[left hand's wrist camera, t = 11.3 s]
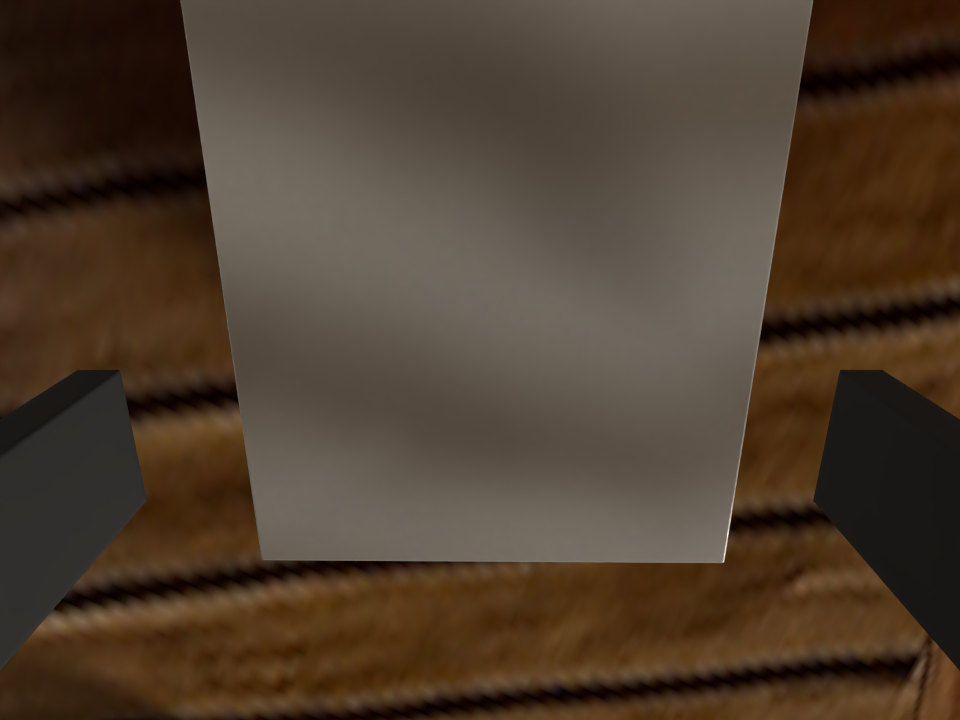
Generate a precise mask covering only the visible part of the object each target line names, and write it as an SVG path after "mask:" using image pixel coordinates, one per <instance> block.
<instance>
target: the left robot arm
mask: <svg viewBox="0 0 960 720" xmlns="http://www.w3.org/2000/svg"><path fill="white" fill-rule="evenodd" d="M146 501H147V500H146V495H145V490H144V485H143V480H142V476H141V471H140V466H139V461H138V456H137V451H136V446H135V441H134V437H133V432H132V427H131V422H130V417H129V412H128V407H127V403H126V398H125V393H124V388H123V383H122V378H121V373H120V370H77V371H76V372H74V373H72V374H71V375H69V376H68V377H66V378H65V379H63V380H61V381H60V382H58V383H57V384H55V385H54V386H52V387H51V388H49V389H47V390H46V391H44V392H43V393H41V394H40V395H38V396H36V397H35V398H33V399H32V400H30V401H29V402H27V403H25V404H24V405H22V406H21V407H19V408H18V409H16V410H14V411H13V412H11V413H10V414H8V415H7V416H5V417H4V418H2V419H0V670H1V669H2V668H3V667H4V666H5V664H6V663H7V662H8V661H9V660H10V659H11V657H12V656H13V655H14V654H15V653H16V652H17V650H18V649H19V648H20V647H21V646H22V645H23V644H24V642H25V641H26V640H27V639H28V638H29V637H30V635H31V634H32V633H33V632H34V631H35V630H36V628H37V627H38V626H39V625H40V624H41V623H42V621H43V620H44V619H45V618H46V617H47V616H48V614H49V613H50V612H51V611H52V610H53V609H54V608H55V606H56V605H57V604H58V603H59V602H60V601H61V599H62V598H63V597H64V596H65V595H66V594H67V592H68V591H69V590H70V589H71V588H72V587H73V585H74V584H75V583H76V582H77V581H78V580H79V578H80V577H81V576H82V575H83V574H84V573H85V572H86V570H87V569H88V568H89V567H90V566H91V565H92V563H93V562H94V561H95V560H96V559H97V558H98V556H99V555H100V554H101V553H102V552H103V551H104V549H105V548H106V547H107V546H108V545H109V544H110V542H111V541H112V540H113V539H114V538H115V537H116V536H117V534H118V533H119V532H120V531H121V530H122V529H123V527H124V526H125V525H126V524H127V523H128V522H129V520H130V519H131V518H132V517H133V516H134V515H135V513H136V512H137V511H138V510H139V509H140V508H141V506H142V505H143V504H144V503H145V502H146ZM813 501H814V502H815V503H816V504H817V505H818V506H819V508H820V509H821V510H822V511H823V512H824V513H825V515H826V516H827V517H828V518H829V519H830V520H831V522H832V523H833V524H834V525H835V526H836V527H837V529H838V530H839V531H840V532H841V533H842V534H843V536H844V537H845V538H846V539H847V540H848V541H849V542H850V544H851V545H852V546H853V547H854V548H855V549H856V551H857V552H858V553H859V554H860V555H861V556H862V558H863V559H864V560H865V561H866V562H867V563H868V565H869V566H870V567H871V568H872V569H873V570H874V572H875V573H876V574H877V575H878V576H879V577H880V578H881V580H882V581H883V582H884V583H885V584H886V585H887V587H888V588H889V589H890V590H891V591H892V592H893V594H894V595H895V596H896V597H897V598H898V599H899V601H900V602H901V603H902V604H903V605H904V606H905V608H906V609H907V610H908V611H909V612H910V613H911V614H912V616H913V617H914V618H915V619H916V620H917V621H918V623H919V624H920V625H921V626H922V627H923V628H924V630H925V631H926V632H927V633H928V634H929V635H930V637H931V638H932V639H933V640H934V641H935V642H936V644H937V645H938V646H939V647H940V648H941V649H942V650H943V652H944V653H945V654H946V655H947V656H948V657H949V659H950V660H951V661H952V662H953V663H954V664H955V666H956V667H957V668H958V669H959V670H960V419H958V418H956V417H955V416H953V415H952V414H950V413H949V412H947V411H946V410H944V409H942V408H941V407H939V406H938V405H936V404H935V403H933V402H931V401H930V400H928V399H927V398H925V397H924V396H922V395H920V394H919V393H917V392H916V391H914V390H913V389H911V388H909V387H908V386H906V385H905V384H903V383H902V382H900V381H899V380H897V379H895V378H894V377H892V376H891V375H889V374H888V373H886V372H884V371H883V370H840V373H839V378H838V383H837V388H836V393H835V398H834V403H833V407H832V412H831V417H830V422H829V427H828V432H827V437H826V441H825V446H824V451H823V456H822V461H821V466H820V471H819V476H818V480H817V485H816V490H815V495H814V500H813Z"/></svg>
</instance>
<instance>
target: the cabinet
mask: <svg viewBox="0 0 960 720" xmlns="http://www.w3.org/2000/svg"><path fill="white" fill-rule="evenodd" d="M812 4H813V0H181V7H182V14H183V21H184V27H185V34H186V41H187V48H188V55H189V62H190V69H191V76H192V83H193V89H194V96H195V103H196V110H197V117H198V124H199V131H200V138H201V145H202V151H203V158H204V165H205V172H206V179H207V186H208V193H209V200H210V206H211V213H212V220H213V227H214V234H215V241H216V248H217V255H218V262H219V268H220V275H221V282H222V289H223V296H224V303H225V310H226V317H227V324H228V330H229V337H230V344H231V351H232V358H233V365H234V372H235V379H236V385H237V392H238V399H239V406H240V413H241V420H242V427H243V434H244V441H245V447H246V454H247V461H248V468H249V475H250V482H251V489H252V496H253V503H254V509H255V516H256V523H257V530H258V537H259V544H260V551H261V558H262V560H352V561H509V562H665V563H723V562H724V559H725V552H726V546H727V540H728V533H729V527H730V521H731V514H732V508H733V502H734V496H735V489H736V483H737V477H738V470H739V464H740V458H741V451H742V445H743V439H744V433H745V426H746V420H747V414H748V407H749V401H750V395H751V388H752V382H753V376H754V369H755V363H756V357H757V351H758V344H759V338H760V332H761V325H762V319H763V313H764V306H765V300H766V294H767V288H768V281H769V275H770V269H771V262H772V256H773V250H774V243H775V237H776V231H777V224H778V218H779V212H780V206H781V199H782V193H783V187H784V180H785V174H786V168H787V161H788V155H789V149H790V143H791V136H792V130H793V124H794V117H795V111H796V105H797V98H798V92H799V86H800V79H801V73H802V67H803V61H804V54H805V48H806V42H807V35H808V29H809V23H810V16H811V10H812Z"/></svg>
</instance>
